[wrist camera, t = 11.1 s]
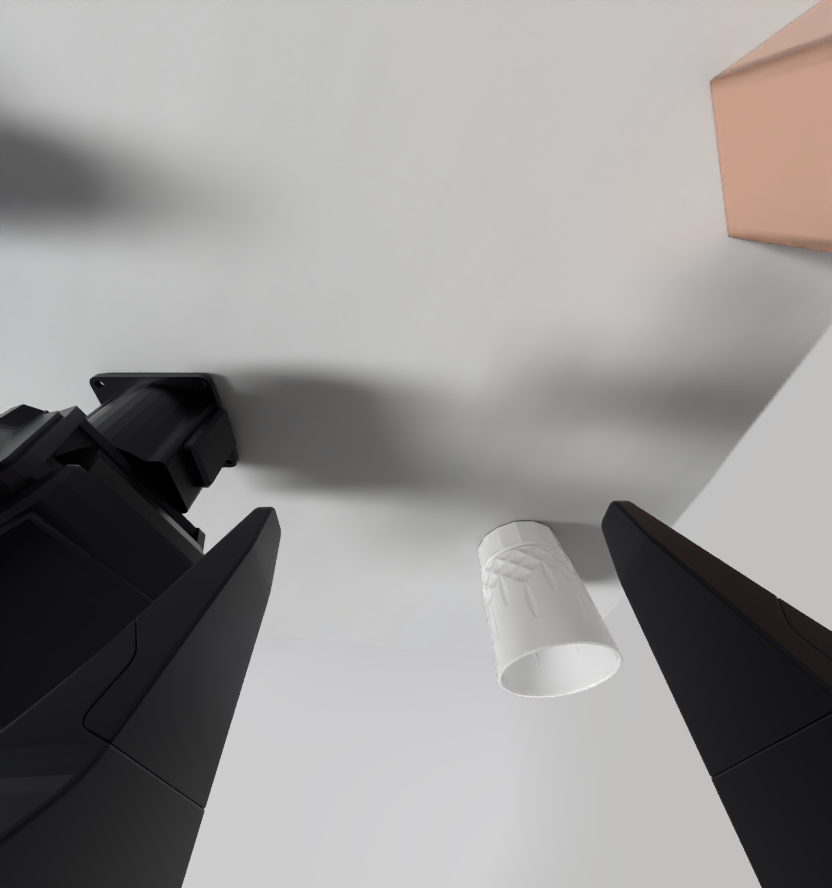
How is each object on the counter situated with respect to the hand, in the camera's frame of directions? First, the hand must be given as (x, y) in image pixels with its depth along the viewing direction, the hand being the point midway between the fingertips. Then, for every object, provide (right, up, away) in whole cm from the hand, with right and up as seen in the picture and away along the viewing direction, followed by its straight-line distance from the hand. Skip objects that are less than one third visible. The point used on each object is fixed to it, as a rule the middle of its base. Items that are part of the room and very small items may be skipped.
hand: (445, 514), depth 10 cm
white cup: (+8, -7, +22) cm, 24 cm away
